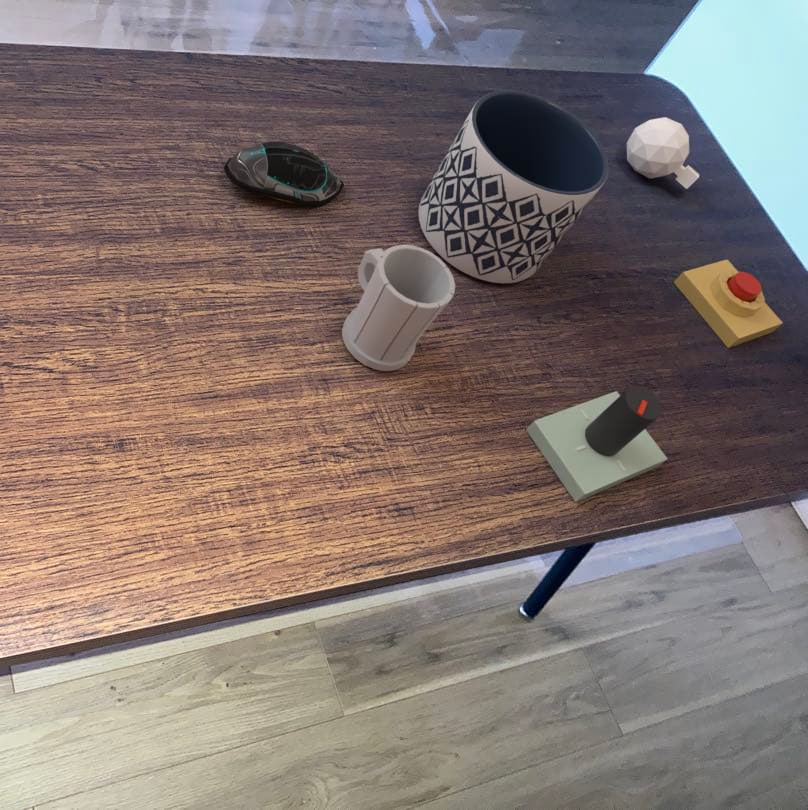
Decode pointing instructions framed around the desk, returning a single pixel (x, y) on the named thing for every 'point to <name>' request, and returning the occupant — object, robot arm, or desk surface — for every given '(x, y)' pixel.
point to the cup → (396, 304)
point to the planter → (511, 186)
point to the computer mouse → (284, 174)
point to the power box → (726, 304)
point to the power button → (744, 286)
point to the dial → (623, 420)
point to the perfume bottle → (661, 150)
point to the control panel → (590, 450)
